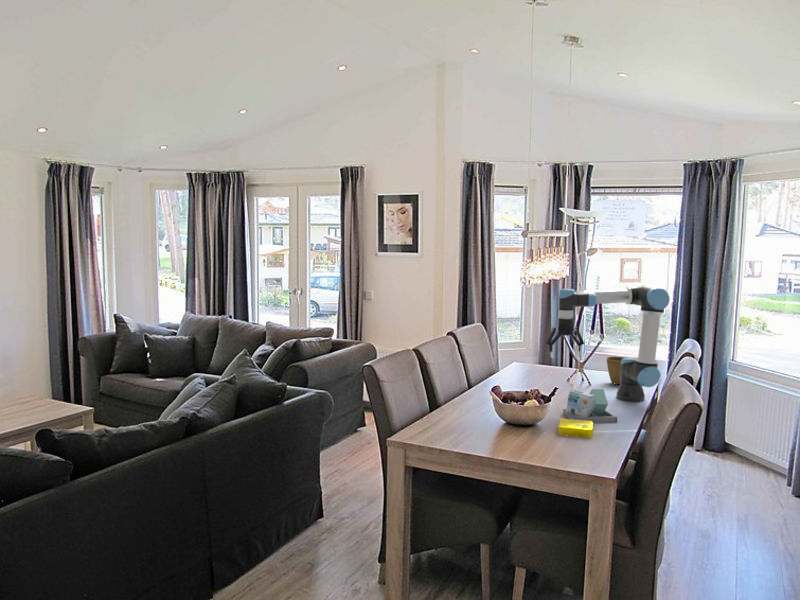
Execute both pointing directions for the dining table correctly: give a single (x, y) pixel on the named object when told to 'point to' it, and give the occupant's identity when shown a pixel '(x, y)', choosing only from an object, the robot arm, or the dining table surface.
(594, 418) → the tray
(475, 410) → the dining table surface
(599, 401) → the teal block
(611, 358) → the plant pot
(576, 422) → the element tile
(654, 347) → the robot arm
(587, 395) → the light bulb box
